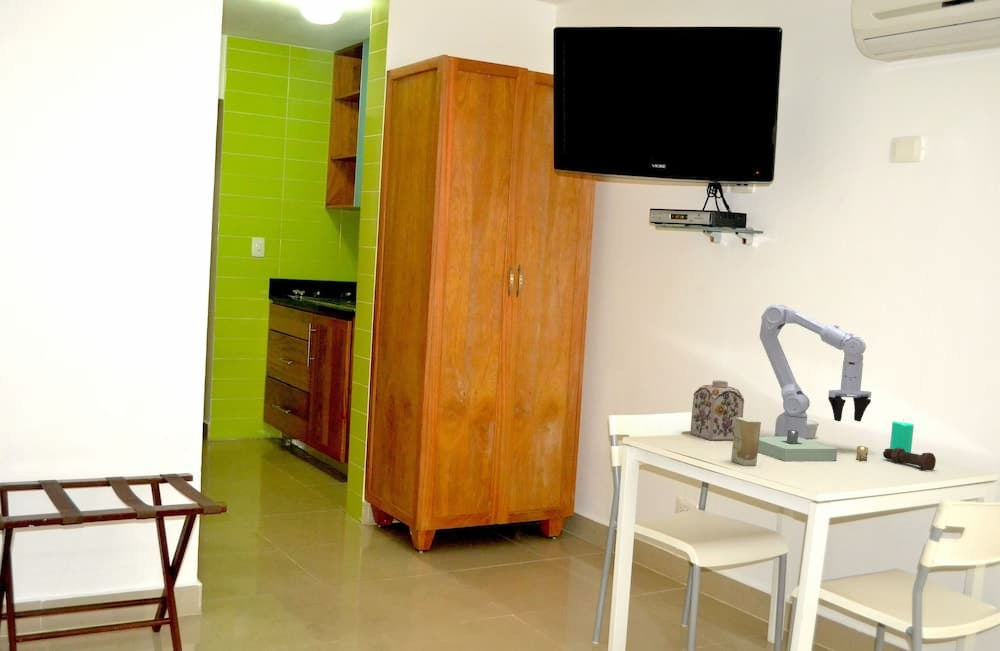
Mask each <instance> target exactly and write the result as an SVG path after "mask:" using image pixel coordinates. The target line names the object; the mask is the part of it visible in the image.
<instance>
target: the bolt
mask: <svg viewBox="0 0 1000 651" xmlns="http://www.w3.org/2000/svg"><path fill="white" fill-rule="evenodd" d="M882 455H883V457H884V459H886V460H890V461H892V462H895V463H894V464H897V463H902V464H909V465H913V466H918V467H919V468H920V470H921V471H923V470H932V471H933V470H934V468H935V467H936V461H937V458H936V456H935V455H934V453H932V452H922V454H918V453H914V452H911V453H909V452H905V450H904V449H902V448H895V449H890V448H885V449H884V450H883V452H882Z"/></svg>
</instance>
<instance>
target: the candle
mask: <svg viewBox="0 0 1000 651" xmlns="http://www.w3.org/2000/svg"><path fill="white" fill-rule="evenodd" d="M914 426H915V425H914V423H908V422H904V418H902V422H900V421H896V420H895V421H894V420H893V421H892V423H891V431H890V432H891V433H890V443H889V444H890V446H889V449H895V448H902V449H904V450H905V452H909V453H912V446H913V436H914V435H913V433H914Z"/></svg>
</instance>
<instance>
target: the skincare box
mask: <svg viewBox="0 0 1000 651" xmlns="http://www.w3.org/2000/svg"><path fill="white" fill-rule="evenodd" d="M761 424H762V422H761V421H759V420H757V419H754V418H750V417H743V418H740V417H739V418H736V420H735V429H734V438H733V440H732V449H731V457H730V458H731V459H730V460H731V462H732V461H733V462H735V463H736V464H740V465H741V466H757V462H758V453H759V452H758V445H759V437H761V435H760V434H761V427H762V425H761Z"/></svg>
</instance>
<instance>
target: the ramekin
mask: <svg viewBox="0 0 1000 651" xmlns="http://www.w3.org/2000/svg"><path fill="white" fill-rule="evenodd" d="M819 424H820V423H819V422H818V421H816V420H812V419H807V425H806V436H805V439H807V440H813V439H815V437H816V435H817V430H818V427H819Z"/></svg>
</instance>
